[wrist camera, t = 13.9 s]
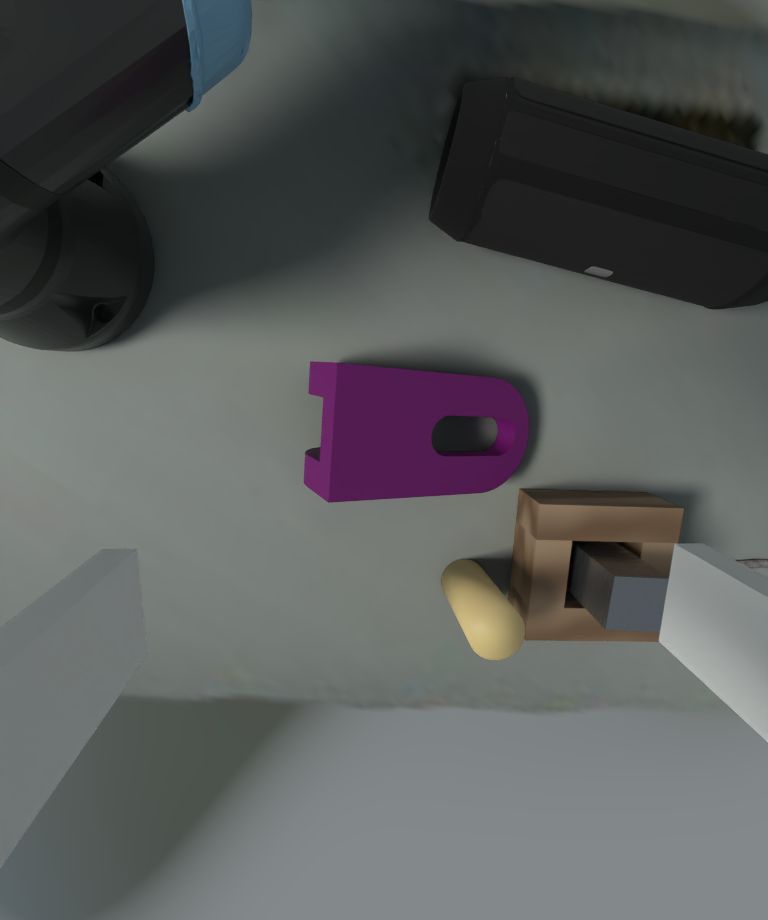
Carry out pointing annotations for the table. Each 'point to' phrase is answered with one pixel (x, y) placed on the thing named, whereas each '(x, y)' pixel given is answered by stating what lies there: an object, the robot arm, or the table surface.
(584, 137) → the portable speaker
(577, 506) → the socket block
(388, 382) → the mounting bracket
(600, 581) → the square peg
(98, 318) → the robot arm
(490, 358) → the table surface
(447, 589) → the round peg
